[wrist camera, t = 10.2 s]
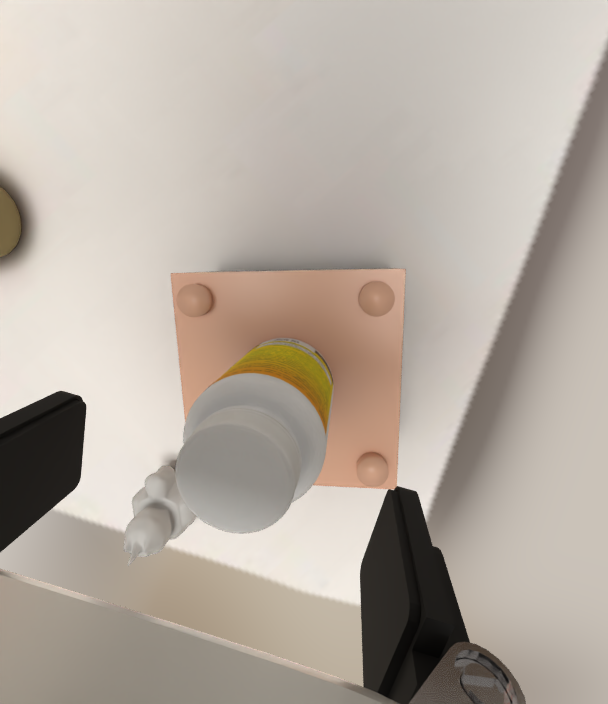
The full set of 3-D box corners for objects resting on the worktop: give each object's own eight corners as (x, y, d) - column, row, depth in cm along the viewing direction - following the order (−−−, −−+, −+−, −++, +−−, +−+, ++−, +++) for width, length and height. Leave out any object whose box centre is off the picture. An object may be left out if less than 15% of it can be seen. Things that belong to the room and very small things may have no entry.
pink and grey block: (217, 271, 28) (163, 273, 20) (390, 268, 27) (408, 269, 19) (228, 428, 31) (185, 486, 23) (384, 433, 30) (398, 497, 21)
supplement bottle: (244, 328, 21) (152, 384, 11) (341, 343, 21) (333, 414, 11) (236, 418, 22) (147, 538, 13) (326, 433, 22) (308, 571, 12)
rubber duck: (154, 517, 34) (97, 591, 26) (144, 453, 33) (81, 511, 25) (210, 520, 34) (168, 597, 26) (203, 454, 32) (156, 514, 24)
